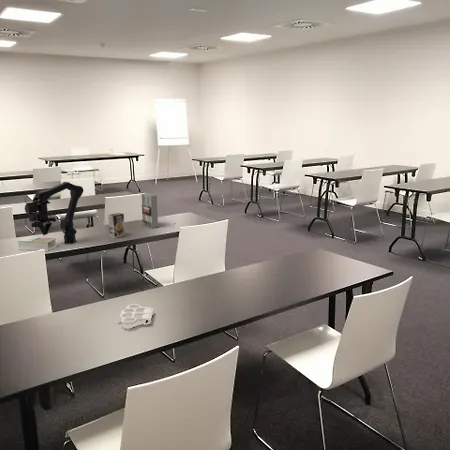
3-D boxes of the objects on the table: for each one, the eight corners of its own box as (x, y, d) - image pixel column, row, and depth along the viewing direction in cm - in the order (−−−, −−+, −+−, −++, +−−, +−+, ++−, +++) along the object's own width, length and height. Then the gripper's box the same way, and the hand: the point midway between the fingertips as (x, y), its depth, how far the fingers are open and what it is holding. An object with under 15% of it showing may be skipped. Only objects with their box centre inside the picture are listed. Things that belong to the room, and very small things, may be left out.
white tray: (57, 246, 290) (56, 238, 288) (46, 251, 278) (46, 243, 277) (29, 244, 293) (28, 237, 292) (18, 249, 281) (17, 242, 280)
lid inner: (55, 239, 288) (55, 238, 287) (46, 243, 278) (46, 242, 277) (42, 238, 289) (42, 237, 289) (33, 242, 279) (33, 241, 279)
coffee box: (115, 238, 308) (113, 215, 304) (109, 237, 312) (107, 214, 308) (125, 235, 315) (124, 213, 311) (119, 234, 319) (118, 212, 315)
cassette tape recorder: (141, 225, 345) (140, 193, 339) (148, 224, 349) (147, 193, 343) (151, 228, 335) (150, 196, 329) (158, 227, 339) (157, 195, 333)
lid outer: (40, 238, 289) (40, 237, 289) (31, 242, 279) (31, 241, 279) (27, 237, 291) (27, 236, 291) (18, 241, 281) (17, 240, 281)
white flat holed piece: (150, 329, 176) (113, 330, 175) (155, 310, 194) (121, 311, 193) (150, 322, 175) (112, 322, 175) (154, 303, 193) (121, 304, 192)
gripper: (39, 207, 290) (42, 230, 294) (22, 213, 272) (25, 238, 276) (55, 208, 288) (57, 231, 292) (38, 214, 270) (41, 238, 274)
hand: (45, 234), depth 284 cm, fingers closed
